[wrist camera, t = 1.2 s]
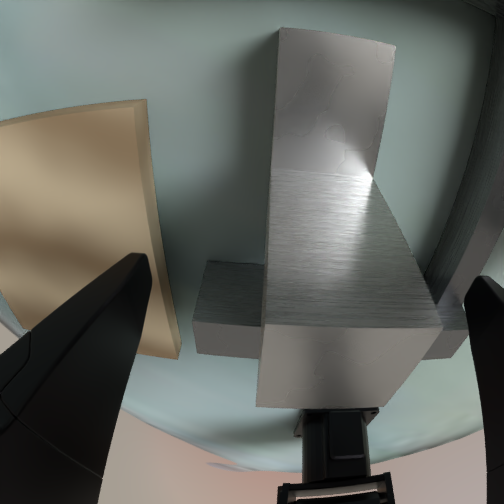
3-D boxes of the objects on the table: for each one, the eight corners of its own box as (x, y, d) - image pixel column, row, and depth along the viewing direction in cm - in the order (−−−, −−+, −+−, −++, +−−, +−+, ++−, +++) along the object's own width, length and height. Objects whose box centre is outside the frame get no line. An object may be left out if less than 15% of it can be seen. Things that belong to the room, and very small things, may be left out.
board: (181, 343, 19) (177, 359, 18) (30, 316, 19) (23, 328, 18) (146, 99, 10) (133, 107, 9) (-44, 134, 10) (-59, 143, 9)
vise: (431, 306, 16) (450, 358, 13) (209, 295, 16) (197, 353, 13) (524, -14, 5) (582, -9, 2) (207, -94, 5) (179, -135, 3)
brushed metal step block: (341, 217, 13) (383, 406, 6) (266, 211, 13) (255, 406, 7) (370, 42, 8) (542, 89, 2) (279, 29, 8) (291, 10, 2)
